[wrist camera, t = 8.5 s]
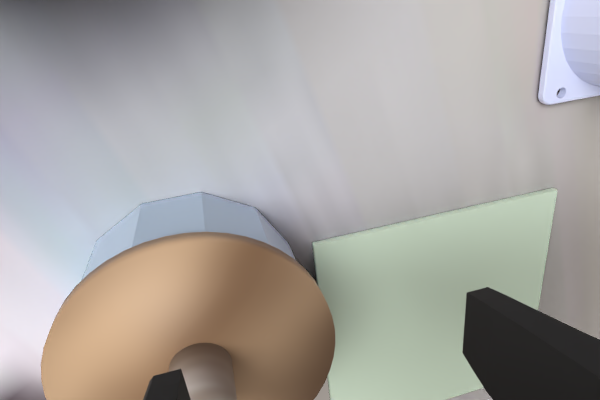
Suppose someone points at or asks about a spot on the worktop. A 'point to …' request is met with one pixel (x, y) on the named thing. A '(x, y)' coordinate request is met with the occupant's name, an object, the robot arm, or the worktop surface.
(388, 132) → the worktop surface
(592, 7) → the robot arm
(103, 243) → the bowl
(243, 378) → the lid
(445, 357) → the mat
